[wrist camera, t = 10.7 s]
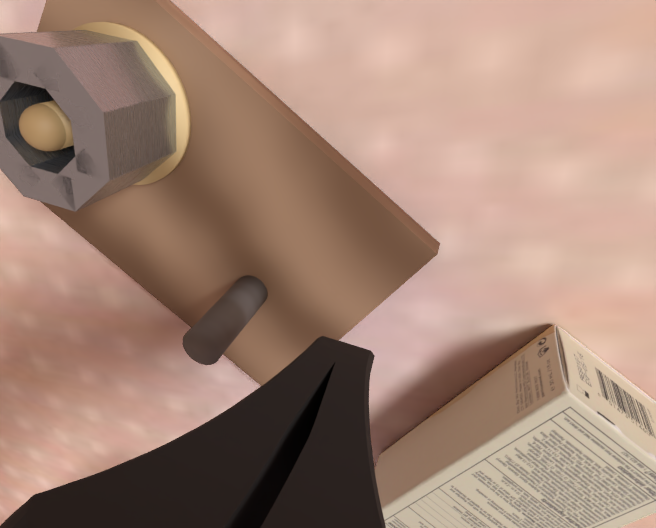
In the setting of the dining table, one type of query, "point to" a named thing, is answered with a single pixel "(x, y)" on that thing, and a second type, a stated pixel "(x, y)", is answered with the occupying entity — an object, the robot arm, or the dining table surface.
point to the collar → (84, 114)
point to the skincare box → (529, 448)
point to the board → (236, 204)
